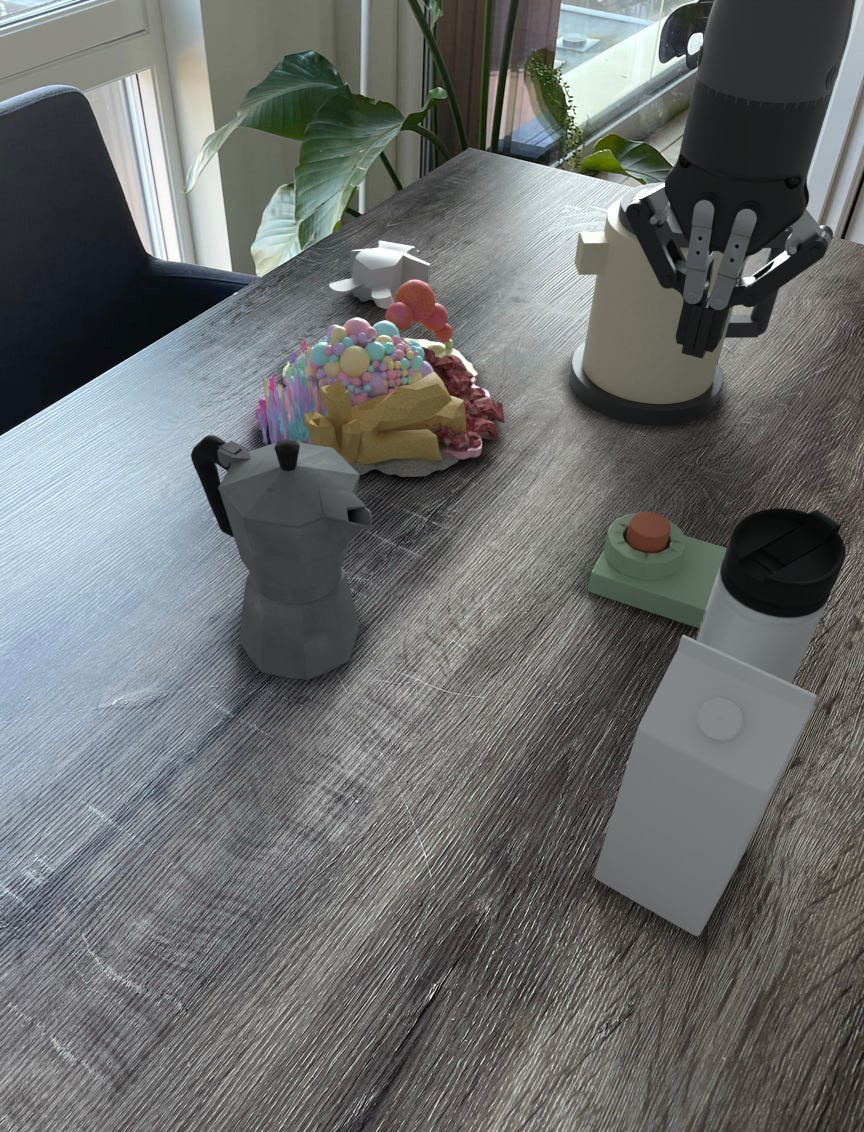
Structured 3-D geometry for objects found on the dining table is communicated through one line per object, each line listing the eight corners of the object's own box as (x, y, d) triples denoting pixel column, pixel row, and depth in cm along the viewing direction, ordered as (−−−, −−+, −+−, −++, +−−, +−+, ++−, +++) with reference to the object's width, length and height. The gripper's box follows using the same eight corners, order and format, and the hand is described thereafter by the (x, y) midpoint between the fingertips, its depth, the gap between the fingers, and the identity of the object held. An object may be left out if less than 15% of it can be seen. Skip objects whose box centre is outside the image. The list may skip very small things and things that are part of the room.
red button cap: (671, 535, 83) (675, 518, 82) (660, 559, 81) (664, 542, 80) (632, 523, 84) (636, 506, 83) (620, 546, 82) (624, 529, 81)
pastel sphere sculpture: (539, 460, 96) (552, 372, 89) (295, 513, 90) (289, 423, 83) (437, 330, 112) (442, 247, 105) (225, 367, 106) (216, 283, 100)
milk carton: (641, 803, 69) (709, 597, 55) (742, 857, 66) (840, 654, 53) (592, 878, 65) (652, 676, 51) (697, 939, 62) (791, 743, 49)
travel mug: (775, 765, 71) (877, 545, 57) (708, 809, 69) (797, 590, 54) (707, 707, 75) (788, 486, 61) (642, 747, 72) (709, 526, 58)
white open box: (443, 240, 118) (399, 283, 107) (439, 284, 122) (396, 330, 110) (366, 226, 120) (315, 267, 109) (364, 270, 124) (315, 314, 113)
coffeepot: (405, 639, 79) (412, 444, 67) (330, 715, 74) (322, 519, 61) (252, 560, 86) (232, 368, 73) (173, 625, 80) (136, 430, 67)
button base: (782, 587, 84) (797, 550, 81) (760, 650, 79) (775, 613, 76) (617, 535, 88) (625, 498, 86) (586, 592, 83) (594, 555, 81)
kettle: (771, 426, 100) (838, 225, 86) (571, 429, 99) (605, 227, 85) (725, 339, 111) (777, 149, 97) (545, 341, 111) (571, 150, 96)
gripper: (898, 73, 58) (804, 349, 71) (669, 37, 62) (618, 304, 75) (878, 115, 53) (781, 403, 66) (631, 73, 57) (584, 352, 70)
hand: (694, 350), depth 70 cm, fingers closed
